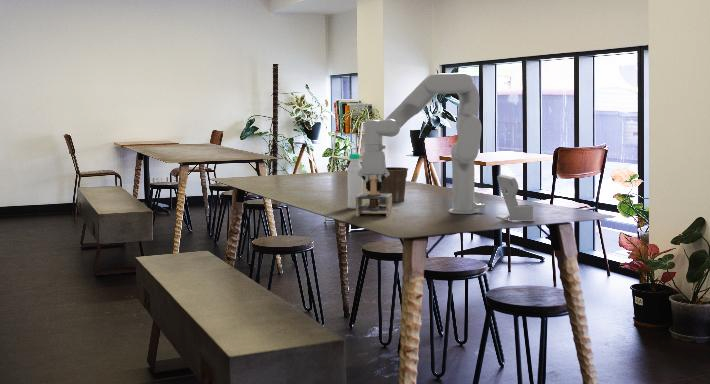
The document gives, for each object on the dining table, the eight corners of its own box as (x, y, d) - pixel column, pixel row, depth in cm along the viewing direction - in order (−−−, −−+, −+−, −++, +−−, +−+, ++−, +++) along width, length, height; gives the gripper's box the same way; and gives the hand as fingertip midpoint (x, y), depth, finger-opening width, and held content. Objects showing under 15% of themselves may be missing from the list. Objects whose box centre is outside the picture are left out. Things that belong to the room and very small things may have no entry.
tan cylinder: (379, 210, 364) (379, 178, 362) (378, 211, 360) (377, 179, 358) (370, 210, 365) (369, 178, 363) (368, 211, 360) (368, 179, 359)
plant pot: (415, 201, 405) (415, 168, 403) (388, 204, 396) (388, 170, 394) (395, 198, 418) (394, 166, 417) (368, 201, 409) (368, 168, 408)
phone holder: (535, 221, 334) (535, 176, 332) (512, 223, 332) (512, 177, 330) (517, 216, 351) (517, 173, 349) (495, 217, 348) (495, 174, 346)
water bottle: (354, 206, 391) (353, 153, 388) (366, 207, 386) (365, 153, 384) (344, 208, 386) (343, 153, 383) (356, 209, 381) (355, 154, 378)
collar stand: (392, 212, 367) (391, 193, 366) (388, 216, 355) (388, 196, 354) (360, 212, 369) (360, 193, 369) (356, 216, 358) (355, 196, 357)
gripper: (393, 147, 361) (394, 190, 364) (355, 148, 364) (356, 190, 366) (391, 149, 354) (392, 192, 356) (352, 149, 357) (353, 191, 359)
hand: (373, 190), depth 361 cm, fingers closed on tan cylinder, 4 cm apart
